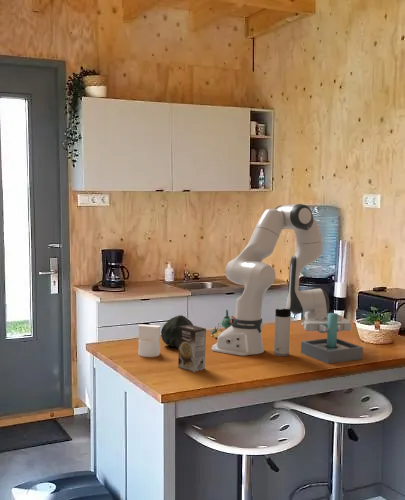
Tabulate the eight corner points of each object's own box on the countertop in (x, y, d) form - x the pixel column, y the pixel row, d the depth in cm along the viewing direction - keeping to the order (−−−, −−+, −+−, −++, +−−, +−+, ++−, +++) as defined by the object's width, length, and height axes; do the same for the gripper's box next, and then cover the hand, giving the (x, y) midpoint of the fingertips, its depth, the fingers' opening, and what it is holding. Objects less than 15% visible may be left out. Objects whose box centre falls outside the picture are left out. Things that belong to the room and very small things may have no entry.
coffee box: (177, 367, 247) (178, 326, 245) (189, 364, 251) (190, 323, 250) (193, 372, 240) (194, 330, 239) (205, 369, 245) (206, 328, 243)
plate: (328, 358, 260) (329, 351, 260) (311, 351, 271) (311, 344, 270) (351, 355, 266) (352, 348, 265) (333, 348, 276) (333, 342, 276)
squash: (171, 327, 290) (164, 307, 280) (202, 332, 286) (196, 311, 275) (161, 353, 281) (153, 333, 271) (193, 358, 277) (186, 338, 266)
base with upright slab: (162, 352, 268) (163, 324, 267) (155, 357, 260) (156, 328, 258) (142, 350, 271) (143, 322, 269) (135, 355, 262) (135, 327, 261)
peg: (325, 351, 267) (327, 314, 265) (327, 349, 271) (328, 312, 269) (335, 352, 266) (337, 315, 264) (336, 350, 269) (338, 313, 268)
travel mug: (277, 357, 265) (279, 309, 263) (271, 353, 271) (273, 306, 269) (291, 356, 266) (293, 309, 264) (285, 352, 273) (287, 306, 271)
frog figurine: (222, 333, 306) (225, 304, 303) (244, 346, 291) (248, 314, 288) (205, 335, 300) (208, 305, 298) (227, 348, 286) (231, 316, 283)
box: (327, 363, 256) (328, 351, 256) (300, 352, 272) (301, 341, 272) (362, 358, 265) (362, 347, 264) (334, 348, 280) (334, 337, 280)
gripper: (299, 315, 278) (309, 322, 265) (344, 315, 281) (356, 322, 267) (299, 329, 279) (308, 337, 265) (344, 329, 282) (355, 336, 268)
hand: (333, 329), depth 266 cm, fingers closed on peg, 4 cm apart
